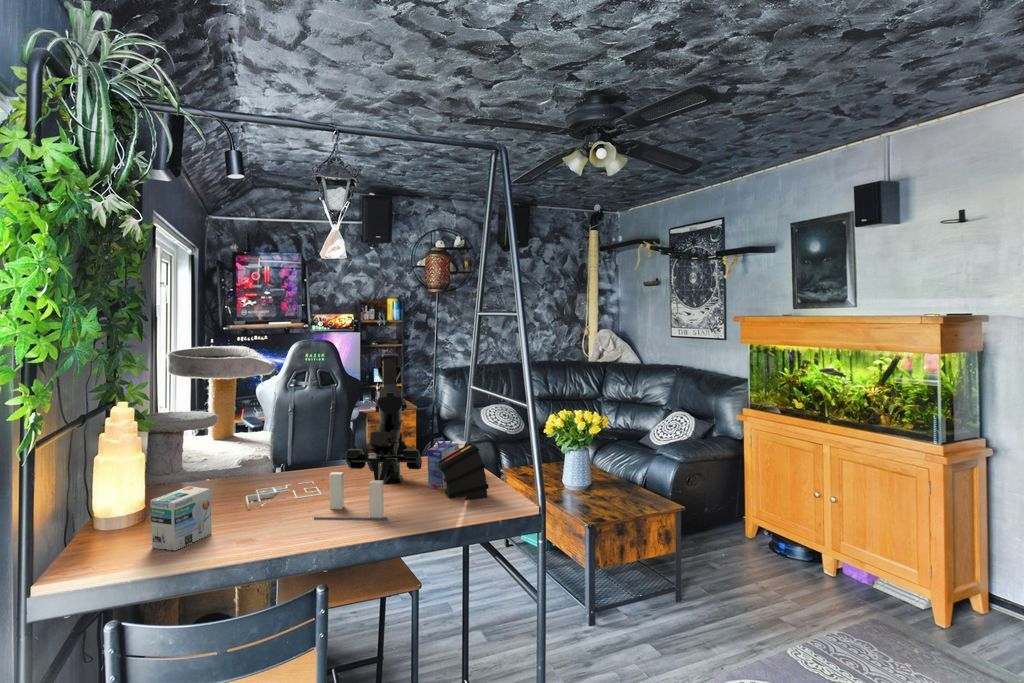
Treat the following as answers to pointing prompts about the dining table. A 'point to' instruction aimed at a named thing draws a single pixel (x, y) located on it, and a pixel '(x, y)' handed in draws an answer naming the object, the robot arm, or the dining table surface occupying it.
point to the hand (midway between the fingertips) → (377, 489)
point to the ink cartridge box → (434, 457)
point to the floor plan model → (275, 493)
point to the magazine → (464, 473)
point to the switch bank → (350, 518)
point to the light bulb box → (181, 518)
